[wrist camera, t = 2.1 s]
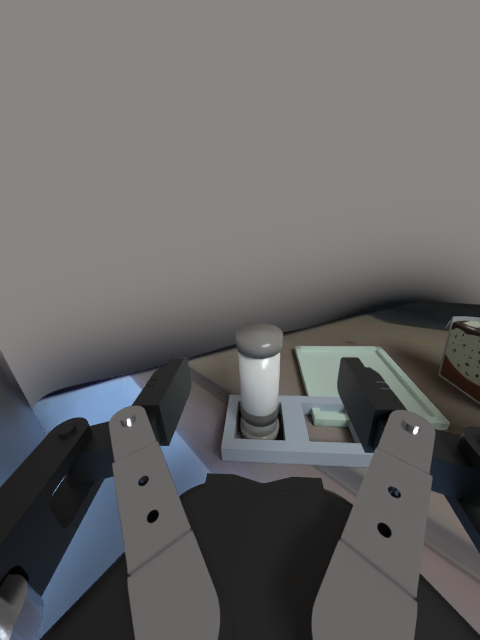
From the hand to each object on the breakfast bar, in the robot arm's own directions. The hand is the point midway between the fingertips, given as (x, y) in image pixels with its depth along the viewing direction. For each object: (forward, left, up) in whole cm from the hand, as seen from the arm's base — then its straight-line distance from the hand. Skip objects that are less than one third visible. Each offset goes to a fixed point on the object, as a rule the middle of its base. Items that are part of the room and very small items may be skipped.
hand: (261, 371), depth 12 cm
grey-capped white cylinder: (0, +11, -18) cm, 21 cm away
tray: (+15, +21, -18) cm, 31 cm away
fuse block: (+4, +11, -18) cm, 21 cm away
